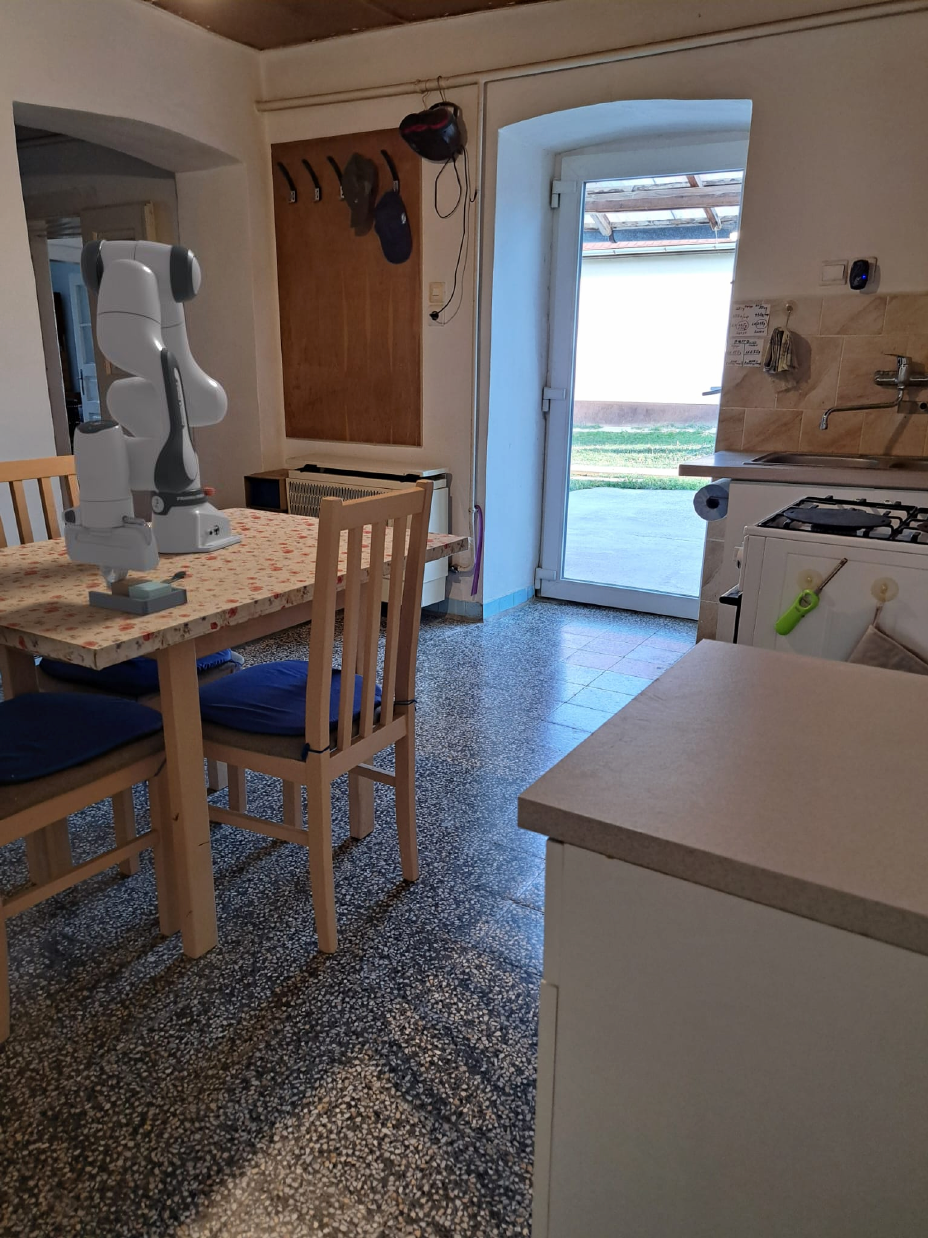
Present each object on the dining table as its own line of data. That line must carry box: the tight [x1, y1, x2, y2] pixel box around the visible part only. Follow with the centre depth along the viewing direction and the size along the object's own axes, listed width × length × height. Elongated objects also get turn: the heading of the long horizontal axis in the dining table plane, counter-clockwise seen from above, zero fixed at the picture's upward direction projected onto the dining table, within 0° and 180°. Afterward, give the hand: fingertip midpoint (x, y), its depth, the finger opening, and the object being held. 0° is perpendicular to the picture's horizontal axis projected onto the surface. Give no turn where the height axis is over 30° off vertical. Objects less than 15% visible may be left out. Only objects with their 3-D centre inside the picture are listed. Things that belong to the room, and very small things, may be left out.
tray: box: [87, 586, 188, 616], centre depth 151 cm, size 10×14×2 cm
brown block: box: [110, 576, 154, 597], centre depth 152 cm, size 5×5×4 cm
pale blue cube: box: [129, 581, 172, 600], centre depth 149 cm, size 5×5×4 cm
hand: (116, 589), depth 154 cm, fingers closed
